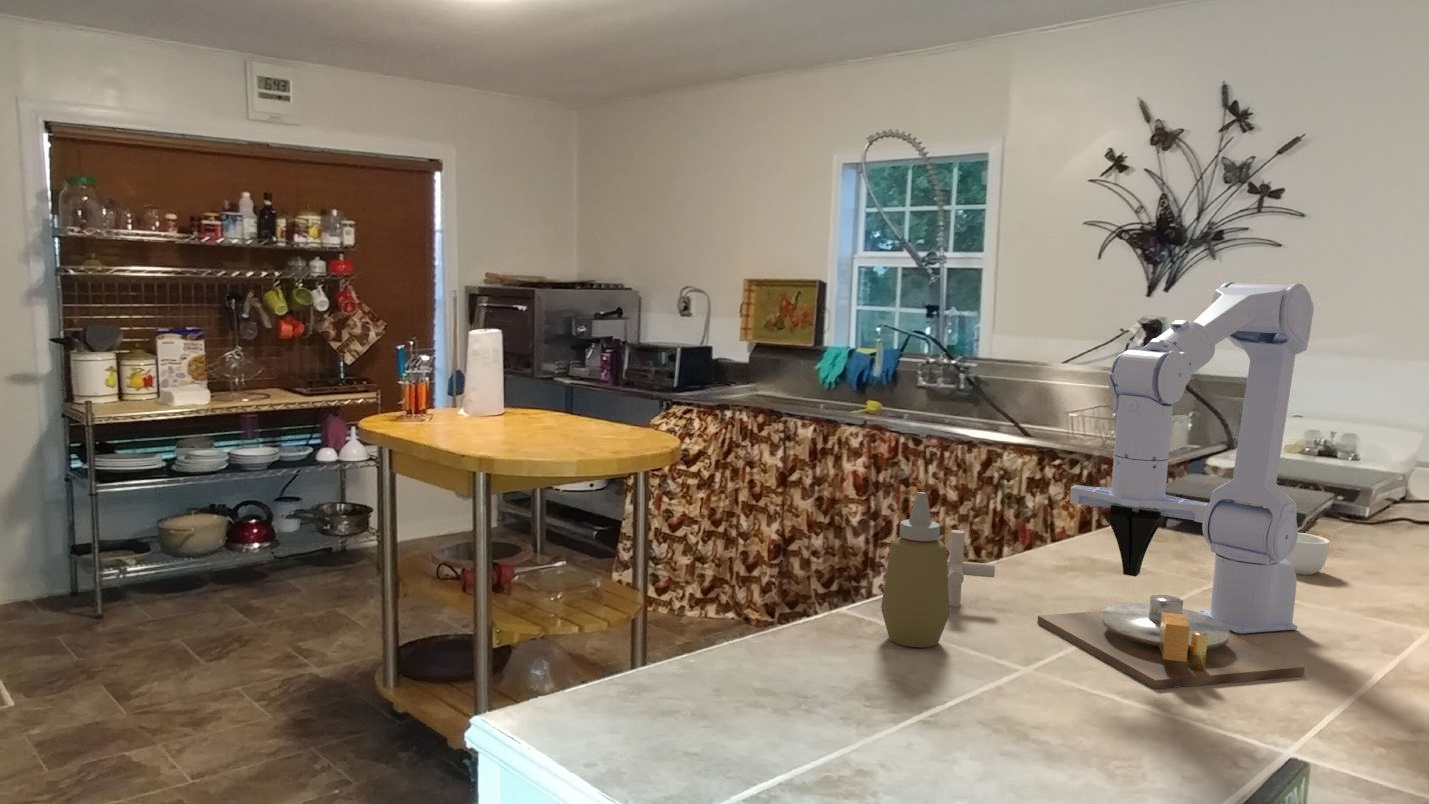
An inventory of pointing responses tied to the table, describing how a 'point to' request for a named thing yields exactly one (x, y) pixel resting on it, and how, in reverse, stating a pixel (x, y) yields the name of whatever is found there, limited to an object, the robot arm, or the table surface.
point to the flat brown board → (1158, 673)
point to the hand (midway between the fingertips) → (1131, 573)
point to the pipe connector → (962, 567)
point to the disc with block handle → (1164, 625)
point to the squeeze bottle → (916, 581)
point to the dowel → (1198, 651)
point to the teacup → (1308, 554)
